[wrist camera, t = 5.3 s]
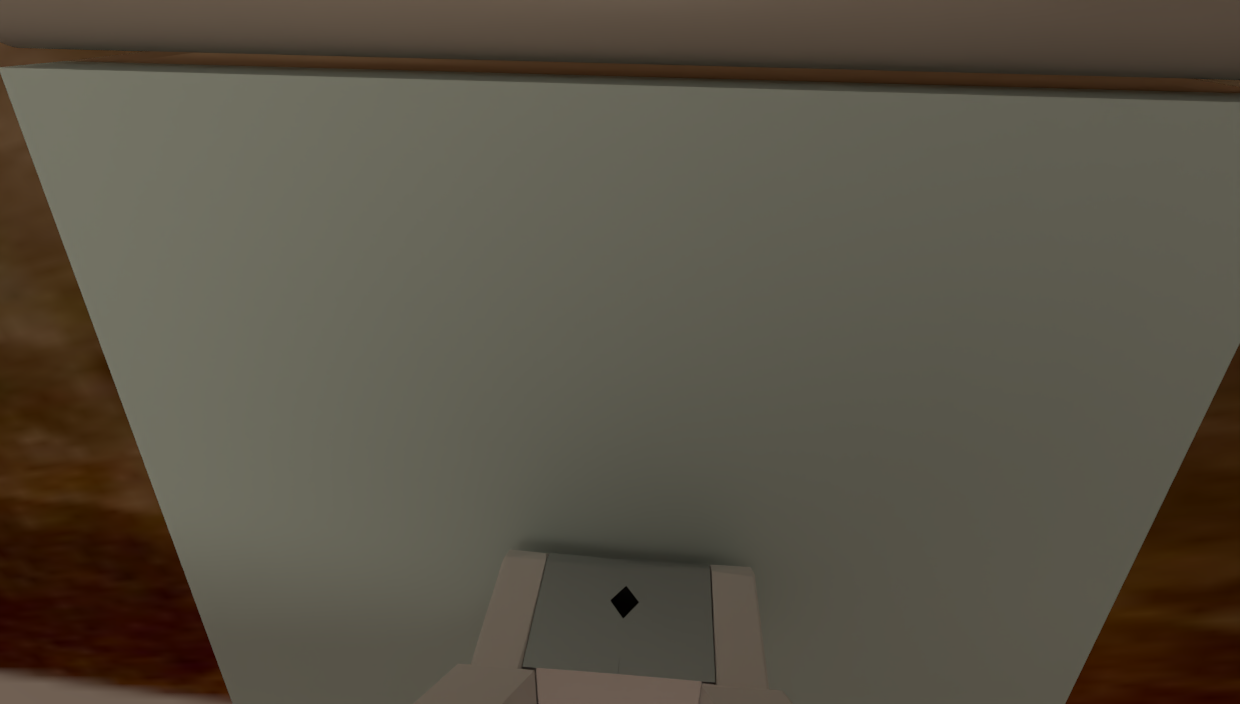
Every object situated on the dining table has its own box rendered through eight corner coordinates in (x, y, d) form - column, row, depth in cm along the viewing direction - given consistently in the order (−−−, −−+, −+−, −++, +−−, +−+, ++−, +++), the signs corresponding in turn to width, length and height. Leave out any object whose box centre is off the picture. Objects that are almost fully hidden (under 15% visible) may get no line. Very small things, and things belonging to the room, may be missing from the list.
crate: (352, 25, 13) (71, 61, 7) (984, 40, 13) (1274, 93, 6) (433, 555, 20) (323, 808, 14) (850, 584, 19) (930, 867, 13)
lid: (28, -57, 7) (-61, -65, 6) (1336, -34, 6) (1437, -41, 5) (315, 827, 14) (292, 878, 13) (935, 887, 13) (953, 946, 12)
